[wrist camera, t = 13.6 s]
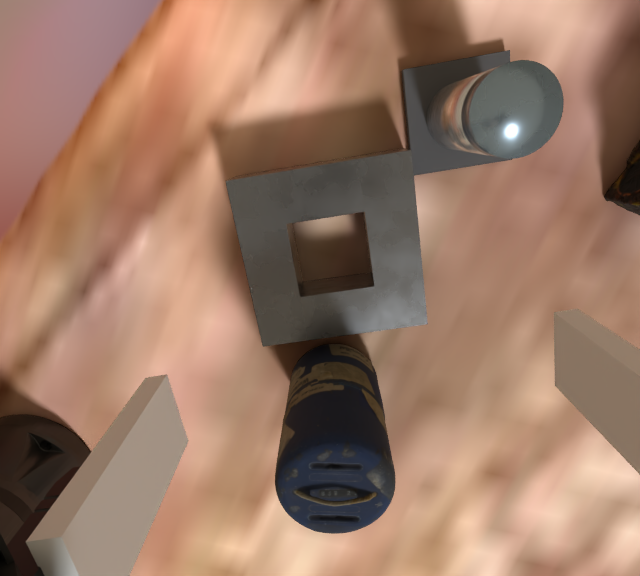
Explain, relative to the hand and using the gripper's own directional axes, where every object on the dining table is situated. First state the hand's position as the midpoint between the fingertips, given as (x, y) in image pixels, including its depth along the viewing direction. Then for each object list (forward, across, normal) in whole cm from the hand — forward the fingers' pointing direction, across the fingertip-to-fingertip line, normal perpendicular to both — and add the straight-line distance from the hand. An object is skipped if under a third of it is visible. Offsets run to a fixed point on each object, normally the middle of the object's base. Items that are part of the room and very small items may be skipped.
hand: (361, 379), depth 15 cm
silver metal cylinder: (+29, +12, +8) cm, 32 cm away
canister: (+31, -3, -17) cm, 35 cm away
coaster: (+30, +12, +8) cm, 33 cm away
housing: (+30, -1, -2) cm, 31 cm away
